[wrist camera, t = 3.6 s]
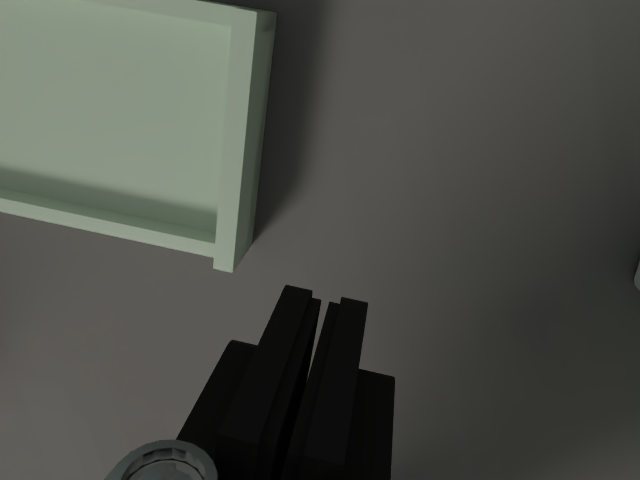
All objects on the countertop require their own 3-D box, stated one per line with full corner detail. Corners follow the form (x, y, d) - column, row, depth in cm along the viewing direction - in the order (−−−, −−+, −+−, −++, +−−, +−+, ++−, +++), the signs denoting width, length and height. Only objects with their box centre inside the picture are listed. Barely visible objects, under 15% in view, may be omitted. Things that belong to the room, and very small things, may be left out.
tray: (277, 12, 24) (256, 11, 21) (252, 244, 29) (232, 272, 26) (-116, -56, 25) (-191, -66, 22) (-75, 175, 30) (-132, 193, 27)
